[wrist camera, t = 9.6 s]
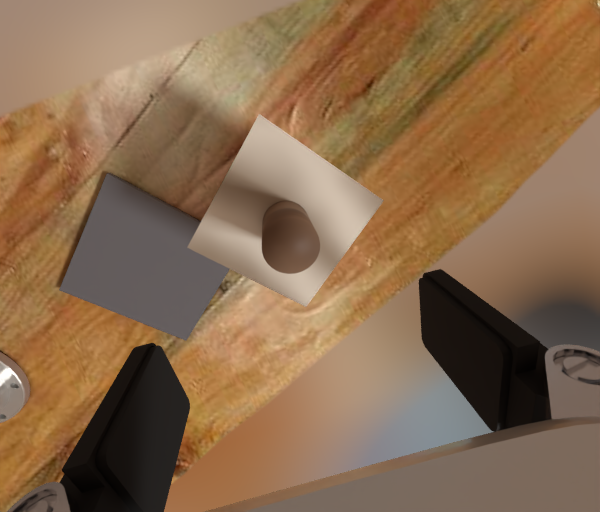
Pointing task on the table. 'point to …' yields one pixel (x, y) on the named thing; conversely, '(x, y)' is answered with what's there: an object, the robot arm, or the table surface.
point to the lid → (283, 215)
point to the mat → (142, 261)
